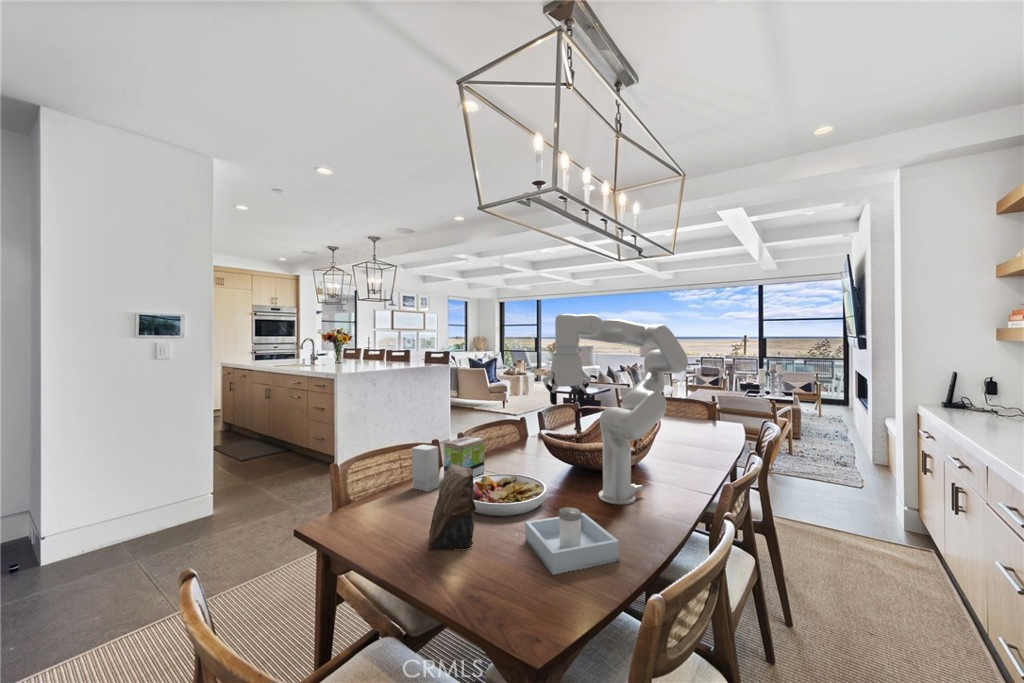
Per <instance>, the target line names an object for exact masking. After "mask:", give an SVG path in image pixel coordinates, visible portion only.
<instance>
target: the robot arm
mask: <svg viewBox="0 0 1024 683" xmlns="http://www.w3.org/2000/svg"><path fill="white" fill-rule="evenodd" d="M554 322H555V323H554V324H555V326H554V327H555V330H554V332H555V334H554V335H555V336H554V337H555V338H554V339H555V340H554V341H555V342H554V343H555V344H554V345H555V355H554V356H552V359H551V360H552V361H551V366H550V374H548V375H546V376H545V377H543V378H542V379H541V381H542V383H543V386H544V387H545V389H546V390H547V391H548V392H549V402H550V404H551V405H553V406H557V404H558V393H557V392H556V391H557V390H558V388H559V387H576V388H577V389H578V390H577V391H576V397H577V398H576V401H577V404H584V400H585V391H586V390H587V389H588V387H589V385H590V382H591V380H592V377H590V376H589V375H586V374H585V373H583V364H582V358H581V356H580V354H579V353H581V352H582V351H583V348H581V347H580V346H579V339H585V340H588V341H589V340H590V341H596V342H597V341H599V342H604V343H609V344H617V345H622V346H629V347H635V348H640V349H652V350H649V351H648V352H647V353H646V354H645V356H644V359H643V364H644V372H643V373H644V374H643V377H642V378H641V379H640V380H639V382H637V383H636V384H635V385H634V386H633V387H632V388H631V389H629V391H628V392H626V394H625V395H624V396H623V398H622V401H621V405H622V407H618V406H610V407H609V406H608V407H607V408H605V409H604V410H603V411H602V412H601V414H600V416H599V427H600V433H601V438H602V490H600V491H599V492H598V498H599V499H600V500H601V501H603V502H604V503H605V502H606V503H608V504H612V505H629V504H632V503H633V504H634V502H636V499H637V497H636V494H635V493H636V492H642V491H644V487H643V485H642V484H639V485H638V484H637V485H636V484H635V483H632V450H631V449H632V448H631V443H630V441H637V440H638V441H639V439H640V440H641V439H642V438H643V437H645V436H646V435H647V434H648V432H650V431H651V429H653V428H654V427H655V425H656V424H658V422H659V421H661V419H662V418H663V417H664V415H665V413H666V411H667V405H668V403H667V399H666V397H665V395H663V394H662V393H663V392H664V389H665V380H664V374H681V373H682V372H684V371H685V370H686V369H687V367H688V364H689V362H688V356H687V354H686V352H685V350H684V349H683V346H682V345H681V343H679V341H678V339H677V337H676V336H675V334H674V333H673V331H672V330H670V328H669V327H668V326H666V325H664V324H660V323H659V324H658V323H657V324H643V323H637V322H633V321H629V320H628V321H627V320H625V319H624V320H623V319H602V318H601V317H600V316H598V315H596V314H593V313H586V314H585V313H584V314H577V315H576V314H573V313H564V314H558V315H556V317H555V320H554ZM549 381H550V383H549ZM550 384H551V385H550Z"/></svg>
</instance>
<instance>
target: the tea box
mask: <svg viewBox="0 0 1024 683" xmlns="http://www.w3.org/2000/svg"><path fill="white" fill-rule="evenodd" d="M485 446H486V443H485V438H482V437H474V436H469V435H467V436H463V437H460V438H457V439H453V440H448V441H445V442H444V447H443V450H444V451H443V478H444V477H445V474H446V471H447V469H448V466H449V463H454V464H456V465H457V466H460V467H465V468H471V469H472V470H473V478H475V477H478V476H480V475H482V473H483V474H484V473H485V452H486V451H485ZM479 474H480V475H479ZM477 475H478V476H477Z"/></svg>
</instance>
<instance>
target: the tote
mask: <svg viewBox="0 0 1024 683" xmlns="http://www.w3.org/2000/svg"><path fill="white" fill-rule="evenodd" d="M580 519H581V546H578V547H572V548H567V549H561V548H560V539H559V516H555V517H549V518H548V517H547V518H542V519H536V520H529V521H525V526H524V527H525V542H526V543H527V544H528V545H529V547H530V548H531V549H532V550H533V552H534V553H535V554H536V556H537V557H538V558H539V559H540V560H541V562H542V564H544V566H545V567H546V569H547V570H548V571H549V572H550V573H551V575H553V576H554V575H559V574H563V573H564V572H565V573H569V572H568V571H570V572H573V571H572V570H574V571H578V570H577V569H579V570H583V569H582V568H584V569H589V568H592V566H594V567H598V565H599V566H603V565H602V564H604V565H607V564H606V563H608V564H612V562H613V563H617V562H616V561H618V562H620V540H618V539H617V538H616V537H615V536H614V535H612V534H611V533H609V531H607V530H606V529H604V528H603V527H602V526H601V525H599V523H597V522H596V521H594V520H593V519H592V518H591V517H589V516H588V515H587V514H585V513H584V512H581V518H580ZM610 562H611V563H610ZM588 567H589V568H588Z"/></svg>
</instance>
